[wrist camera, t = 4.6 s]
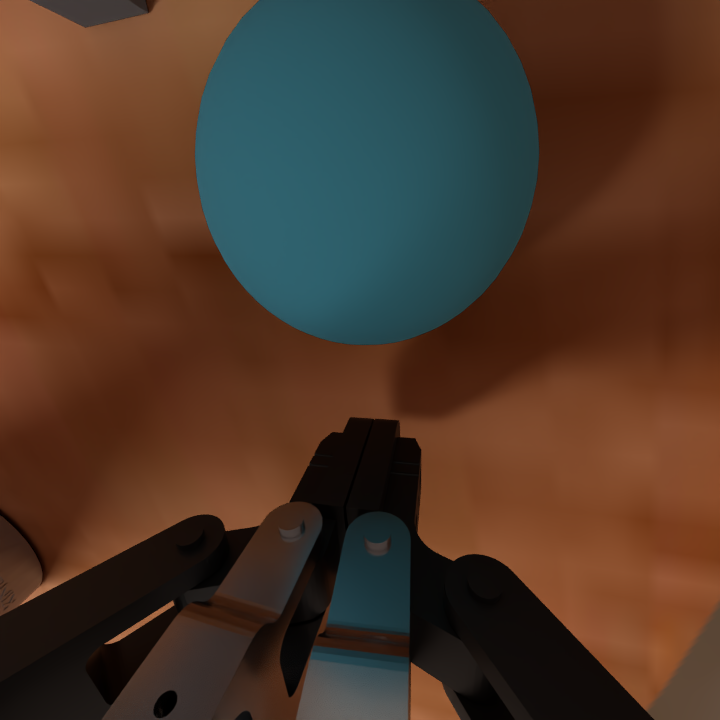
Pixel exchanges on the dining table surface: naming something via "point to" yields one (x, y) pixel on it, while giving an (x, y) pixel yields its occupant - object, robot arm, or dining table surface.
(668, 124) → the dining table surface
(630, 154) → the dining table surface
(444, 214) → the ball
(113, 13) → the bridge
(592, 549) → the dining table surface
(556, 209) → the dining table surface
